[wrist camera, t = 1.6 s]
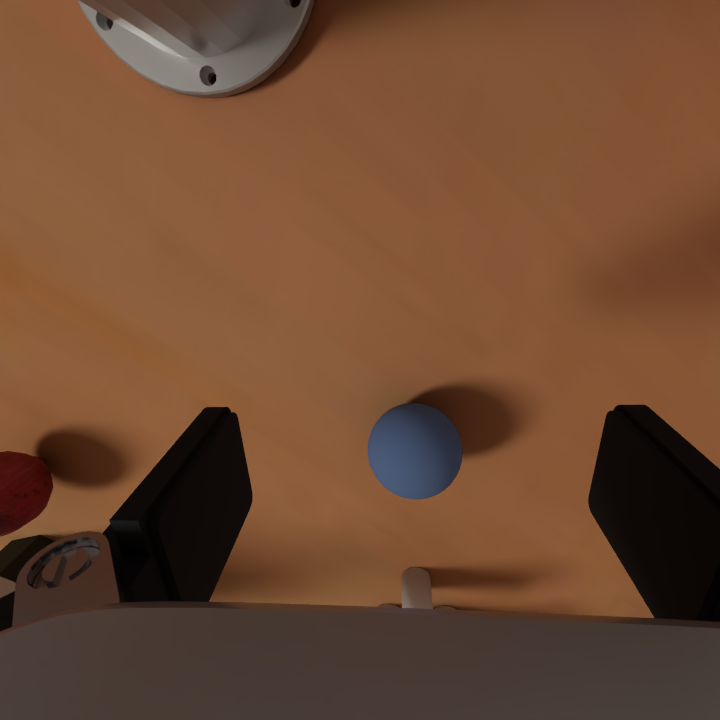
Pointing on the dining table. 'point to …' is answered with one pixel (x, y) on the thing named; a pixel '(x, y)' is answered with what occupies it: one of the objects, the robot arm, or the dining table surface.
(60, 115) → the dining table surface
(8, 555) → the wine bottle
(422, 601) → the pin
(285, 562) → the dining table surface
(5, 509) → the onion
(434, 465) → the ball
